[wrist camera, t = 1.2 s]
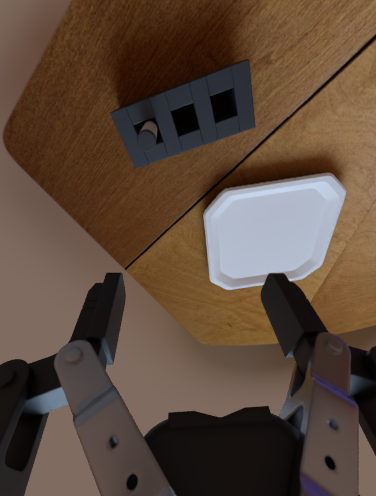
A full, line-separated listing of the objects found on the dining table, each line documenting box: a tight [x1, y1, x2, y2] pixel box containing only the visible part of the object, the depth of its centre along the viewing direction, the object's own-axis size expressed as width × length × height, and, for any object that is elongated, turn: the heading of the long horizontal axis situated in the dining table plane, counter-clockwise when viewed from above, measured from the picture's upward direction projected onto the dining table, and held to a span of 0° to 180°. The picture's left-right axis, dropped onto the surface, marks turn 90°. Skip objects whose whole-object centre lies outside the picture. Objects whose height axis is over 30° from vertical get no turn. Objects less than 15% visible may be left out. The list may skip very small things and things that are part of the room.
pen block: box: [110, 59, 255, 168], centre depth 23 cm, size 13×6×5 cm, turn 107°
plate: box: [203, 172, 346, 290], centre depth 36 cm, size 21×21×2 cm
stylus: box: [137, 118, 158, 152], centre depth 21 cm, size 1×1×12 cm
